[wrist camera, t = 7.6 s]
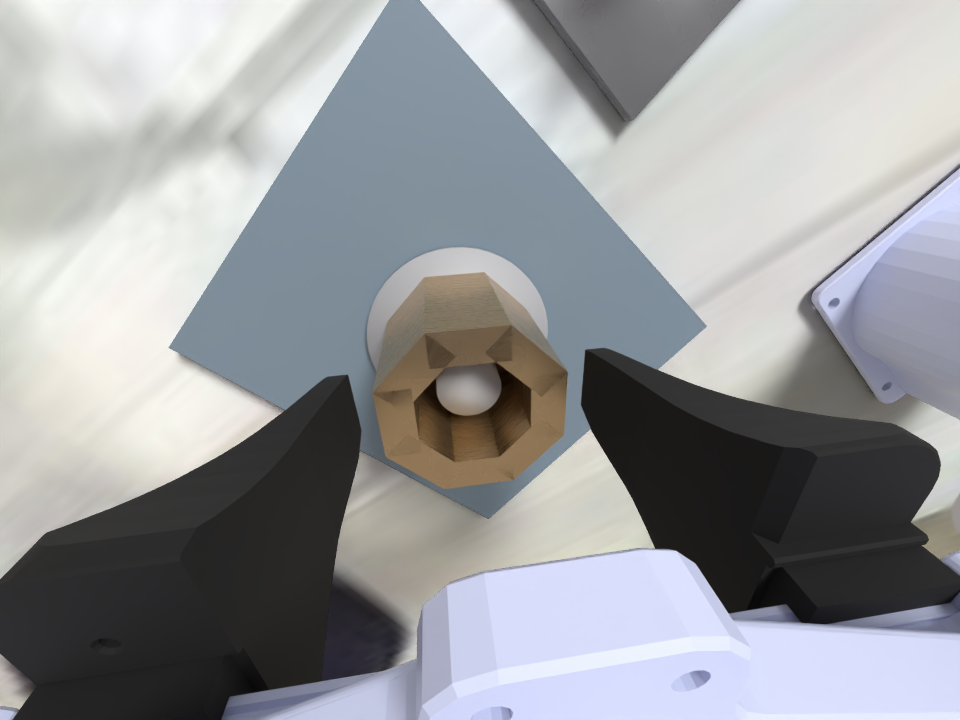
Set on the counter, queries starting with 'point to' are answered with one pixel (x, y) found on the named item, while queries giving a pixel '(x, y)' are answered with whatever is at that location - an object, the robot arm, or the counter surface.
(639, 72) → the square plate with knob
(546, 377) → the octagonal wooden tube
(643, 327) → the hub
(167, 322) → the counter surface
